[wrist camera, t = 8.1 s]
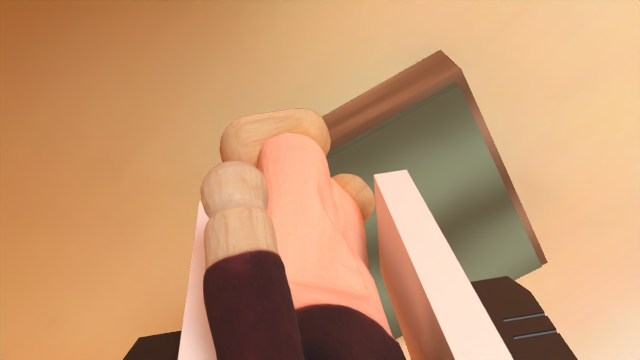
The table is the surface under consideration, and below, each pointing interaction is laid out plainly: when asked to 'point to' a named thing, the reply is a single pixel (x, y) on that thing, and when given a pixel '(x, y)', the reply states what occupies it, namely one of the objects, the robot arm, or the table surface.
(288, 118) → the grandmother figurine
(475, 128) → the sage green square panel
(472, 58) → the table surface
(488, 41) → the table surface
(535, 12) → the table surface
